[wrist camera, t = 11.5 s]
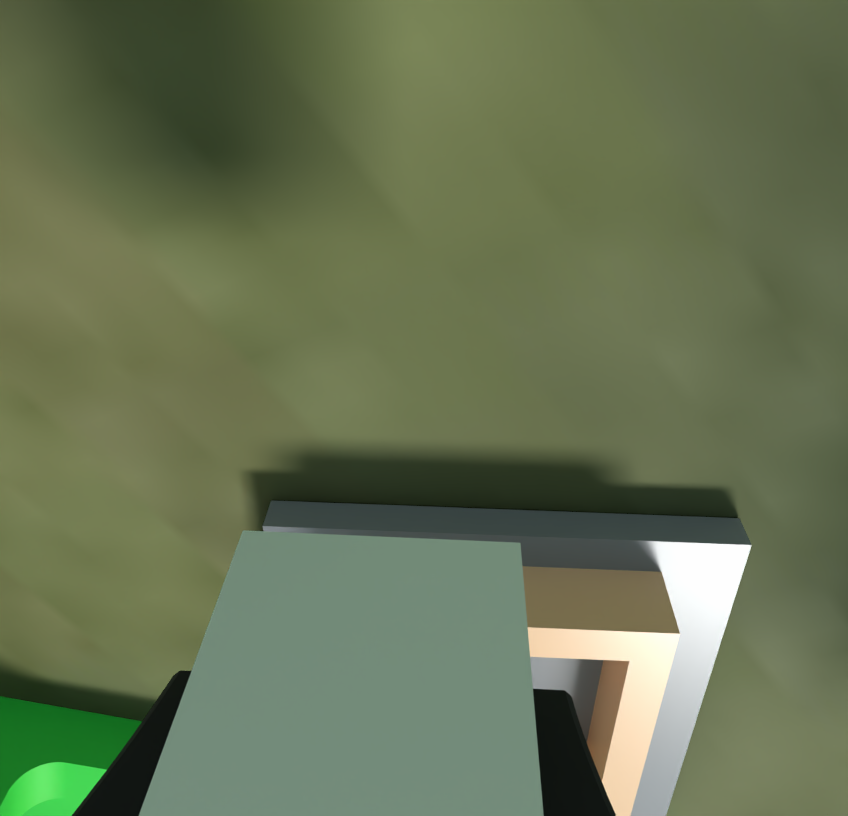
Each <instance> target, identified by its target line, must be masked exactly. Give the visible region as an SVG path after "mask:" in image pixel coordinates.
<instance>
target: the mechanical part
mask: <svg viewBox="0 0 848 816" xmlns="http://www.w3.org/2000/svg"><path fill="white" fill-rule="evenodd" d="M141 722H142V721H137V720H132V719H126V718H120V717H115V716H109V715H103V714H98V713H92V712H86V711H81V710H75V709H69V708H64V707H58V706H52V705H47V704H41V703H35V702H30V701H24V700H18V699H13V698H7V697H2V696H0V816H72V814H73V813H74V812H75V811H76V809H77V808H78V807H79V805H80V804H81V803H82V802H83V800H84V799H85V798H86V796H87V795H88V794H89V792H90V791H91V790H92V789H93V787H94V786H95V785H96V783H97V782H98V781H99V780H100V778H101V777H102V776H103V774H104V773H105V772H106V771H107V769H108V768H109V766H110V765H111V764H112V762H113V761H114V760H115V758H116V757H117V756H118V754H119V753H120V751H121V750H122V749H123V747H124V746H125V745H126V743H127V742H128V741H129V739H130V738H131V736H132V735H133V734H134V732H135V731H136V729H137V728H138V727H139V725H140V724H141Z"/></svg>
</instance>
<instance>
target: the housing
mask: <svg viewBox="0 0 848 816" xmlns="http://www.w3.org/2000/svg"><path fill="white" fill-rule="evenodd" d="M263 531H266V532H289V533H312V534H334V535H357V536H380V537H402V538H425V539H448V540H470V541H493V542H515V543H520V544H521V556H522V567H523V579H524V591H525V603H526V614H527V626H528V638H529V650H530V662H531V673H532V685H533V689H550V690H565V691H566V692H567V693H568V694H570V695H571V696H572V699H573V703H574V706H575V710H576V713H577V716H578V719H579V722H580V725H581V728H582V731H583V734H584V737H585V740H586V742H587V745H588V748H589V750H590V753H591V756H592V758H593V761H594V764H595V766H596V769H597V771H598V774H599V776H600V778H601V781H602V783H603V786H604V788H605V791H606V793H607V796H608V798H609V800H610V803H611V805H612V807H613V810H614V812H615V814H616V816H666V814H667V811H668V808H669V804H670V801H671V798H672V795H673V792H674V789H675V785H676V782H677V779H678V776H679V773H680V770H681V766H682V763H683V760H684V757H685V754H686V751H687V748H688V744H689V741H690V738H691V735H692V732H693V729H694V725H695V722H696V719H697V716H698V713H699V710H700V706H701V703H702V700H703V697H704V694H705V691H706V687H707V684H708V681H709V678H710V675H711V672H712V669H713V665H714V662H715V659H716V656H717V653H718V650H719V646H720V643H721V640H722V637H723V634H724V631H725V627H726V624H727V621H728V618H729V615H730V612H731V608H732V605H733V602H734V599H735V596H736V593H737V590H738V586H739V583H740V580H741V577H742V574H743V571H744V567H745V564H746V561H747V558H748V555H749V552H750V548H751V543H750V541H749V538H748V536H747V534H746V532H745V530H744V527H743V525H742V523H741V521H740V519H739V518H719V517H692V516H666V515H640V514H613V513H587V512H561V511H534V510H508V509H481V508H455V507H429V506H402V505H376V504H350V503H323V502H297V501H271V502H270V505H269V508H268V511H267V514H266V517H265V520H264V523H263Z"/></svg>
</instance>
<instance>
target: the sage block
mask: <svg viewBox="0 0 848 816" xmlns="http://www.w3.org/2000/svg"><path fill="white" fill-rule="evenodd" d="M139 816H544V815H543V803H542V791H541V779H540V767H539V756H538V744H537V732H536V720H535V709H534V697H533V685H532V673H531V662H530V650H529V638H528V626H527V614H526V603H525V591H524V579H523V567H522V556H521V544H520V543H515V542H493V541H470V540H448V539H425V538H402V537H380V536H357V535H334V534H312V533H289V532H266V531H244V530H243V532H242V535H241V537H240V540H239V543H238V545H237V548H236V551H235V554H234V556H233V559H232V562H231V565H230V567H229V570H228V573H227V576H226V578H225V581H224V584H223V586H222V589H221V592H220V595H219V597H218V600H217V603H216V606H215V608H214V611H213V614H212V617H211V619H210V622H209V625H208V627H207V630H206V633H205V636H204V638H203V641H202V644H201V647H200V649H199V652H198V655H197V658H196V660H195V663H194V666H193V669H192V671H191V674H190V677H189V679H188V682H187V685H186V688H185V690H184V693H183V696H182V699H181V701H180V704H179V707H178V710H177V712H176V715H175V718H174V720H173V723H172V726H171V729H170V731H169V734H168V737H167V740H166V742H165V745H164V748H163V751H162V753H161V756H160V759H159V761H158V764H157V767H156V770H155V772H154V775H153V778H152V781H151V783H150V786H149V789H148V792H147V794H146V797H145V800H144V802H143V805H142V808H141V811H140V813H139Z"/></svg>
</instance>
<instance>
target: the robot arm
mask: <svg viewBox="0 0 848 816" xmlns="http://www.w3.org/2000/svg"><path fill="white" fill-rule="evenodd" d="M190 674H191V671H179V672H178V673H176V674H175V675H174V676H173V677H172V678H171V680H170V681H169V683H168V684H167V686H166V687H165V689H164V690H163V692H162V693H161V695H160V696H159V698H158V699H157V701H156V702H155V704H154V705H153V707H152V708H151V709H150V711H149V712H148V714H147V715H146V717H145V718H144V720H143V721H142V722H141V724H140V725H139V727H138V728H137V729H136V731H135V732H134V734H133V735H132V736H131V738H130V739H129V741H128V742H127V743H126V745H125V746H124V747H123V749H122V750H121V751H120V753H119V754H118V756H117V757H116V758H115V760H114V761H113V762H112V764H111V765H110V766H109V768H108V769H107V771H106V772H105V773H104V774H103V776H102V777H101V778H100V780H99V781H98V782H97V783H96V785H95V786H94V787H93V789H92V790H91V791H90V792H89V794H88V795H87V796H86V798H85V799H84V800H83V802H82V803H81V804H80V805H79V807H78V808H77V809H76V811H75V812H74V813H73V814H72V816H139V813H140V811H141V808H142V805H143V802H144V800H145V797H146V794H147V792H148V789H149V786H150V783H151V781H152V778H153V775H154V772H155V770H156V767H157V764H158V761H159V759H160V756H161V753H162V751H163V748H164V745H165V742H166V740H167V737H168V734H169V731H170V729H171V726H172V723H173V720H174V718H175V715H176V712H177V710H178V707H179V704H180V701H181V699H182V696H183V693H184V690H185V688H186V685H187V682H188V679H189V677H190ZM533 697H534V709H535V720H536V732H537V744H538V756H539V767H540V779H541V791H542V803H543V815H544V816H616V814H615V812H614V810H613V807H612V805H611V803H610V800H609V798H608V796H607V793H606V791H605V788H604V786H603V783H602V781H601V778H600V776H599V774H598V771H597V769H596V766H595V764H594V761H593V758H592V756H591V753H590V750H589V748H588V745H587V742H586V740H585V737H584V734H583V731H582V728H581V725H580V722H579V719H578V716H577V713H576V710H575V706H574V703H573V699H572V696H571V695H570V694H568V693H567V692H566V691H565V690H550V689H533Z"/></svg>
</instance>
